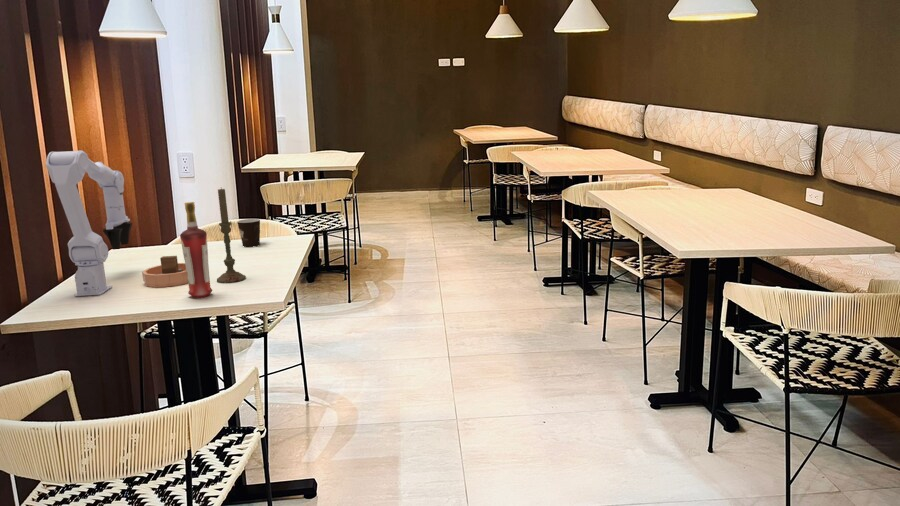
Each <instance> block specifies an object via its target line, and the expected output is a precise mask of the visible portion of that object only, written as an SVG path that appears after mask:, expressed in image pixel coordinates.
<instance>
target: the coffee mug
mask: <svg viewBox="0 0 900 506" xmlns="http://www.w3.org/2000/svg"><path fill="white" fill-rule="evenodd" d="M237 226H238V231H239V235H240V239H241V244H242V247H243V246H244V247H243V248H254V247H253V246H256V247H259V246H260V241H261V235H260V234H261V219H259V218H246V219H245V218H243V219H239V220H237ZM258 245H259V246H258Z"/></svg>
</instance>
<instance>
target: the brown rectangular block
mask: <svg viewBox="0 0 900 506" xmlns="http://www.w3.org/2000/svg"><path fill="white" fill-rule="evenodd" d="M159 260H160V265H161V267H162V274H164V273H177V272H179V269H178V263H179V262H178V261H179V260H178V256H177V255H166V256H165V255H164V256H163V255H162V256H161V257H160V258H159Z"/></svg>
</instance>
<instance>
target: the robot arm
mask: <svg viewBox="0 0 900 506" xmlns="http://www.w3.org/2000/svg"><path fill="white" fill-rule="evenodd" d="M45 161H46V162H45V166H46V169H47V171H48V174H49V177H50V179H51V182H52V183H53V184H54V185H55V188H56V192H57V195H58V197H59V199H60V203H61V205H62V209H63V210H64V213H65V216H66V219H67V221H68V223H69V227H70V230H71V232H72V235H73V236H72V237H71V238H70V240H69V241H68V242H67V247H68V256H69V258H70V260H71V261H72V263H73V264H74V266H77V270H76V272H75V273H74V282H75V287H76V293H75V294H74V297H83V296H87V297H88V296H101V295H102V294H104V293H106V292H107V291H109V290H111V288H113V285H108V284H107V277H106V271H105V264H104V263H105V262H106V261H107V259H108V257H109V247H108V244H106V242H104V240H103V237H102V236H101V235H100V234H98V233H96V232H94V231H93V230H92V227H91V225H90V222H89V218H88V216H87V213H86V210H85V208H84V204H83V201H82V198H81V196H80V193H79V189H78V187H77V186H78V185H77V184H79V183H80V182H81V181H83V178H84V177H85V174H86V173H87V175H88V177H89V178H90V179H91V180H93V181H95V182H96V183H97V184H98V187H99V188H101V189H102V191H103V199H104V207H105V214H106V219H107V220H106V223H105V228H102V232H103V234H104V235H105V236H106V238H107V239H108V241H109V244H110V246H111V248H112V250H120V249H121V245H123V246H126V245H129V242H130V233H131V228H132V226H133V222H130V221H131V218H129V216H128V215H126V208H125V202H124V201H125V200H124V195H123V193H124V191H125V188H124V185H125V177H124V175H123V173H122V172H121V171H120V170H113V169H111V167H110V166H106V165H105V164H104V163H103V162H102V161H96V162H94V161H92V160H91V159H90V158H89V155H88V153H87V152H85V151H84V150H81V149H80V150H71V151H68V150H67V151H50V152H49V153H48V154H47V157H46V160H45Z"/></svg>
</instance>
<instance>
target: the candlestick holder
mask: <svg viewBox="0 0 900 506" xmlns="http://www.w3.org/2000/svg"><path fill="white" fill-rule="evenodd" d="M217 195H218V204H219V205H218V206H219V214H220V221H221V222H219V223H218V226H219V227H220V232H221V233H222V234H223V243H224V247H225V252H226V257H225V258H224V260H223V263H224V266H225V267H226V271H225V272H224V273H222V274H221V275H220V276H219V277H217V278H216V281H217V283H220V284H231V283H232V284H233V283H239V282H242V281H244V280H246V279H247V277H246V274H243V273H241V272H239V271H236V270H235V269H234V265H235V263H236V259H235V258H233V256H232V254H231V251H232V250H231V249H232V248H231V237H230V235H229V234H230V233H231V232H232V228H231V225H232V222H231V221H229V215H228V206H227V205H228V204H227V198H226V197H227V196H226V189H225V188H222V187H220V189H219V188H218V189H217Z"/></svg>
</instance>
